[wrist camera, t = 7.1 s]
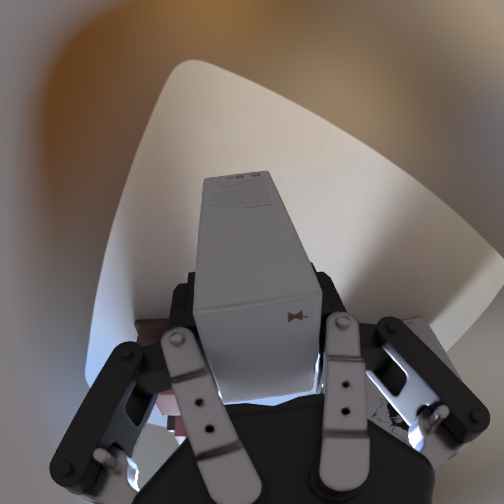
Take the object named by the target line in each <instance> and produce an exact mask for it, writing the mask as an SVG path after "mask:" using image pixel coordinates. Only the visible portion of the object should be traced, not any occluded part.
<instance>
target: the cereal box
mask: <svg viewBox="0 0 504 504" xmlns="http://www.w3.org/2000/svg"><path fill="white" fill-rule="evenodd" d="M402 322H403V323H404V324H406V325H407V326H408V327H409V328H410V329H411V330H412V331H413V332H414V333H415V334H416V335H417V336H418V337H419V338H420V339H421V340H422V341H423V342H424V343H425V344H426V345H427V346H428V347H429V348H430V349H431V350H432V351H433V352H434V353H435V354H436V355H437V356H438V357H439V358H440V359H441V360H442V361H443V362H444V363H445V364H446V365H447V366H448V367H449V368H450V369H451V370H452V372H453V373H454V374H455V375H456V376H457V377H458V378H459V379H460V380H461V378H460V376H459V375H458V373H457V371H456V369H455V368H454V366H453V364H452V363H451V361H450V359H449V357H448V356H447V354H446V352H445V350H444V349H443V347H442V345H441V344H440V342H439V340H438V339H437V337H436V336H435V334H434V332H433V331H432V329H431V328H430V326H429V324H428V323H427V321H426V320H425V318H424V317H423V316H421V317H416V318H412V319H407V320H402ZM319 357H320V355H319V354H318V359H317V362H316V370H317V374H318V362H319ZM461 381H462V380H461ZM366 391H367V418H368V419H369V420H371V421H372V422H374V423H375V424H377V425H378V426H380V427H381V428H383V429H384V430H386V431H387V432H389V433H390V434H392V435H393V436H395V437H397V438H398V439H400V440H401V441H403V442H404V443H406V444H408V445H409V446H411V447H412V448H413V445H411V443H410V439H409V435H408V431H409V427H410V426H409V425H408V424H407V423H406V422H405V420H404V419H403V418H402V417H401V415H400V414H399V413H398V412H397V411H396V409H395V408H394V407H393V406H392V404H391V403H390V402H389V401H388V400H387V398H386V397H385V396H384V395H383V393H382V392H381V391H380V390H379V389H378V387H377V386H376V385H375V384H374V383H373V381H372V380H371V379H370V378H369V377H368V375H367V374H366Z"/></svg>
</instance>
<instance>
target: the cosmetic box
mask: <svg viewBox="0 0 504 504" xmlns="http://www.w3.org/2000/svg"><path fill="white" fill-rule="evenodd" d="M321 307H322V290H321V288H320V285H319V283H318V280H317V277H316V275H315V272H314V270H313V268H312V265H311V263H310V261H309V259H308V256H307V254H306V252H305V250H304V248H303V245H302V243H301V241H300V239H299V236H298V234H297V232H296V230H295V227H294V225H293V223H292V221H291V219H290V217H289V215H288V212H287V210H286V208H285V206H284V204H283V201H282V199H281V197H280V195H279V193H278V191H277V188H276V186H275V184H274V182H273V180H272V178H271V176H270V174H269V172H268V171H260V172H251V173H243V174H235V175H227V176H219V177H211V178H206V179H204V183H203V193H202V204H201V213H200V221H199V233H198V245H197V258H196V270H195V285H194V303H193V316H194V319H195V322H196V326H197V329H198V333H199V336H200V339H201V343H202V346H203V349H204V352H205V354H206V357H207V360H208V362H209V365H210V368H211V370H212V373H213V375H214V378H215V381H216V384H217V387H218V389H219V392H220V395H221V398H222V401H223V402H224V403H228V402H237V401H246V400H254V399H261V398H269V397H276V396H282V395H289V394H295V393H301V392H307V391H310V390H312V388H313V383H314V375H315V367H316V362H317V359H318V354H319V333H320V321H321Z"/></svg>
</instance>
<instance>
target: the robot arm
mask: <svg viewBox="0 0 504 504" xmlns="http://www.w3.org/2000/svg"><path fill="white" fill-rule="evenodd" d="M310 263H311V265H312V268H313V270H314V272H315V275H316V277H317V280H318V283H319V285H320V288H321V290H322V307H321V321H320V333H319V355H320V357H319V362H318V376H317V388H316V394H313V395H307V396H301V397H297V398H295V399H292V400H289V401H287V402H284V403H281V404H278V405H275V406H267V405H258V404H249V403H242V404H229V405H224V404H223V402H222V399H221V397H220V395H219V393H218V390H217V388H216V385H215V383H214V381H213V378H212V376H211V374H210V371H209V370H208V369H207V368H206V365H205V363H204V362H208V360H207V357H206V354H205V352H204V349H203V346H202V343H201V339H200V336H199V333H198V329H197V326H196V322H195V319H194V316H193V303H194V285H195V272H189V273H188V282H187V283H181V284H178V285H177V287H176V288H175V289H174V291H173V296H172V303H171V310H170V317H169V325H168V331H166V332H165V333H164V334H163V336H162V338H161V341H159V342H157V343H155V344H153V345H149V346H146V347H143V348H142V347H141V345H140V344H138V343H136V342H132V341H128V342H123V343H121V344H119V345H118V346H116V347H115V348H114V350H113V351H112V353H111V355H110V356H109V358H108V360H107V361H106V363H105V365H104V366H103V368H102V370H101V371H100V373H99V375H98V376H97V378H96V380H95V381H94V383H93V385H92V387H91V388H90V390H89V392H88V393H87V395H86V397H85V399H84V400H83V402H82V404H81V406H80V408H79V410H78V411H77V413H76V415H75V417H74V419H73V420H72V422H71V424H70V426H69V428H68V429H67V431H66V433H65V435H64V437H63V439H62V441H61V443H60V445H59V447H58V448H57V450H56V453H55V454H54V456H53V458H52V460H51V462H50V468H49V469H50V474H51V477H52V479H53V480H54V481H55V482H56V483H57V484H59V485H60V486H62V487H64V488H66V489H67V490H68V491H70V492H71V493H73V494H75V495H77V496H79V497H81V498H83V499H84V500H87V501H90V502H93V503H95V504H432V496H433V490H434V485H435V473H434V472H435V471H436V470H437V469H438V468H439V467H440V466H442V465H443V464H444V463H445V462H446V461H447V460H449V459H451V458H452V457H454V456H455V455H456V454H457V453H459V452H460V451H461V450H462V449H463V448H465V447H466V446H467V445H468V444H470V443H471V442H472V441H473V440H474V439H475V438H477V437H478V436H479V435H480V434H481V433H482V432H483V431H484V430H485V429H486V428H487V427H488V425H489V423H490V414H489V411H488V409H487V408H486V407H485V406H484V404H483V403H482V402H481V401H480V400H479V399H478V398H477V397H476V396H475V395H474V394H473V393H472V391H471V390H469V388H468V387H467V386H466V385H465V384H464V383H463V382H462V381H461V380H460V379H459V378H458V377H457V376H456V375H455V374H454V373H453V372H452V370H451V369H450V368H449V367H448V366H447V365H446V364H445V363H444V362H443V361H442V360H441V359H440V358H439V357H438V356H437V355H436V354H435V353H434V352H433V351H432V350H431V349H430V348H429V347H428V346H427V345H426V344H425V343H424V342H423V341H422V340H421V339H420V338H419V337H418V336H417V335H416V334H415V333H414V332H413V331H412V330H411V329H410V328H409V327H408V326H407V325H406V324H404V323H403V322H402V321H401V320H400V319H398V318H395V317H384V318H382V319H380V320H379V321H378V323H377V325H373V324H364V323H360V322H358V320H357V319H356V318H355V317H354V316H353V315H351V314H349V313H347V311H346V309H345V307H344V305H343V303H342V301H341V299H340V296H339V294H338V292H337V290H336V288H335V286H334V284H333V282H332V280H331V278H330V277H329V276H328V275H327V274H326V273H324V272H316V270H315V267H314V265H313V263H312V262H310ZM366 374H367V375H368V377H369V378H370V379H371V380H372V381H373V383H374V384H375V385H376V386H377V387H378V389H379V390H380V391H381V392H382V393H383V395H384V396H385V397H386V398H387V400H388V401H389V402H390V403H391V404H392V406H393V407H394V408H395V409H396V411H397V412H398V413H399V414H400V415H401V417H402V418H403V419H404V420H405V422H406V423H407V424H408V425H409V426H410V427H409V431H408V435H409V439H410V443H411V445H413V448H412V447H411V446H409V445H408V444H406V443H404V442H403V441H401V440H400V439H398V438H397V437H395V436H393V435H392V434H390V433H389V432H387V431H386V430H384V429H383V428H381V427H380V426H378V425H377V424H375V423H374V422H372V421H371V420H369V419H368V418H367V391H366ZM170 389H173V392H174V395H175V398H176V401H177V405H178V408H179V411H180V414H181V417H182V420H183V423H184V426H185V429H186V432H187V435H188V436H187V437H186V438H185V439H184V441H183V442H182V443H181V444H180V445H179V447H178V448H177V449H176V450H175V451H174V452H173V454H172V455H171V456H170V457H169V458H168V459H167V461H166V462H165V463H164V464H163V465H162V466H161V468H160V469H159V470H158V471H157V472H156V473H155V474H154V475H153V476H152V478H151V479H150V480H149V481H148V482H147V483H146V484H145V485H144V486H143V488H142V489H141V490H140V491H139V489H138V487H137V483H136V482H137V475H138V470H137V466H136V464H135V463H134V462H133V461H132V460H131V458H132V455H133V453H134V451H135V448H136V446H137V444H138V441H139V439H140V436H141V435H142V432H143V430H144V428H145V425H146V423H147V421H148V418H149V416H150V414H151V412H152V409H153V407H154V405H155V403H156V400H157V398H158V396H159V393H160V392H164V391H167V390H170Z"/></svg>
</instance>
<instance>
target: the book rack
mask: <svg viewBox="0 0 504 504" xmlns="http://www.w3.org/2000/svg"><path fill="white" fill-rule="evenodd" d="M134 325H135V328H136V330H137V333H138V337H137V341H136V343H138V344H140V345H141V347H142V348H143V347H146V346H149V345H153V344H155V343H157V342H159V341H161V338H162V336H163V334H164V333H165V332H166V331H168V325H169V319H152V320H135V323H134ZM204 363H205V365H206V368H207V369H208V370H209V371H210V374H211V376H212V378H213V381H214V383H215V385H216V388H217V390H218V393H219V395H220V392H219V389H218V387H217V384H216V381H215V378H214V375H213V373H212V370H211V368H210V365H209V362H204ZM220 396H221V395H220ZM175 416H176V415H168V419H167V431H168V432H175Z"/></svg>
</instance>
